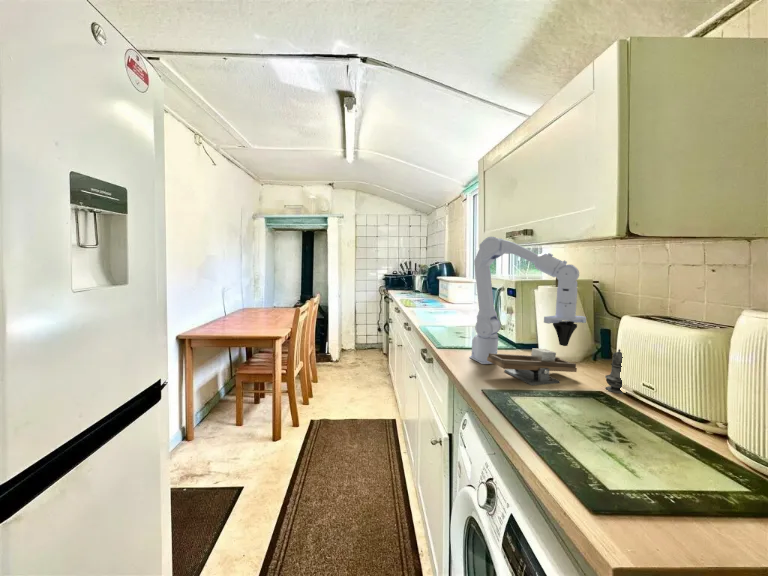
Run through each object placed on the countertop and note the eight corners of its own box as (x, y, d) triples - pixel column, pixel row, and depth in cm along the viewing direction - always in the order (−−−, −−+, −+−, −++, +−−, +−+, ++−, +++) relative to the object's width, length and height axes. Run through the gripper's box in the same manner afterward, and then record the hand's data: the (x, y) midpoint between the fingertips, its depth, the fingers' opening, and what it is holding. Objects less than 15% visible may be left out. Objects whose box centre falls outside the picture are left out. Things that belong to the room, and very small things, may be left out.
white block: (530, 360, 116) (532, 348, 115) (543, 361, 117) (545, 349, 117) (540, 364, 111) (542, 351, 111) (554, 365, 112) (556, 352, 112)
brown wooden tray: (487, 360, 114) (488, 352, 114) (555, 363, 121) (556, 356, 121) (503, 368, 105) (505, 360, 105) (576, 372, 112) (577, 364, 112)
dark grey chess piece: (632, 395, 100) (636, 352, 99) (608, 393, 101) (612, 350, 100) (622, 388, 106) (626, 347, 105) (600, 386, 107) (603, 345, 106)
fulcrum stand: (503, 371, 118) (504, 358, 118) (529, 369, 121) (530, 356, 121) (531, 385, 105) (532, 370, 105) (560, 383, 108) (561, 369, 108)
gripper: (556, 304, 109) (553, 349, 110) (595, 304, 113) (592, 347, 114) (540, 301, 116) (537, 343, 117) (577, 301, 120) (574, 342, 121)
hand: (563, 345), depth 116 cm, fingers closed
